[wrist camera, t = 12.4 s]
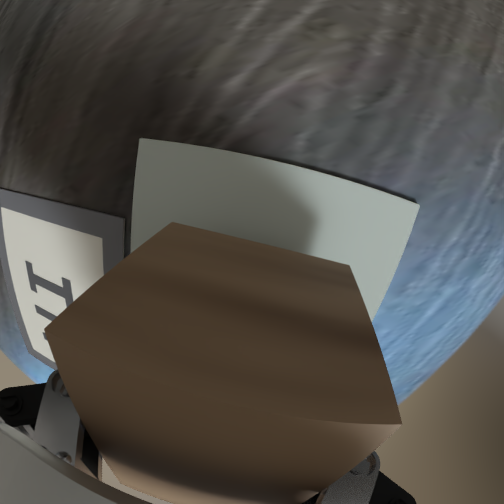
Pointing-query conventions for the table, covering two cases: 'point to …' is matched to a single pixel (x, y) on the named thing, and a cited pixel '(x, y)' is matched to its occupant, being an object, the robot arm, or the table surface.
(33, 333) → the grey framed panel
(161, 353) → the walnut block
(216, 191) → the sage mat
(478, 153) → the table surface
